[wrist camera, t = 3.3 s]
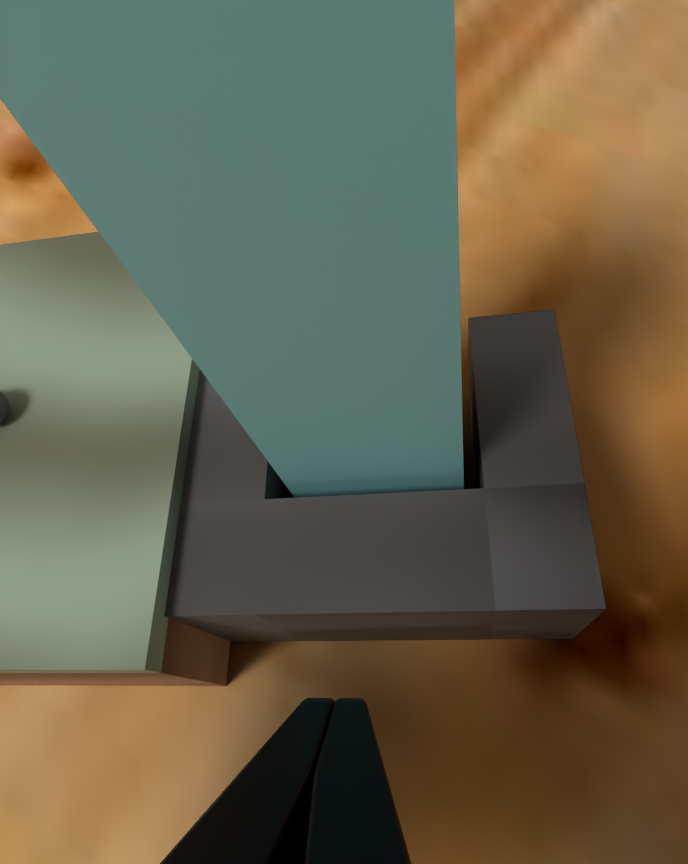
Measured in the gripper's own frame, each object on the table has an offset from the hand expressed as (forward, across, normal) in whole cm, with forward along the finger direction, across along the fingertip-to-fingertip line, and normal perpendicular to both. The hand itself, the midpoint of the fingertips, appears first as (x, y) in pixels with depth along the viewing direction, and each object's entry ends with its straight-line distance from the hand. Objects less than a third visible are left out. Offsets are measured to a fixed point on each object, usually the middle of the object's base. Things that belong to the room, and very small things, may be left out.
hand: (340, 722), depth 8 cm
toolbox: (+10, +9, 0) cm, 13 cm away
